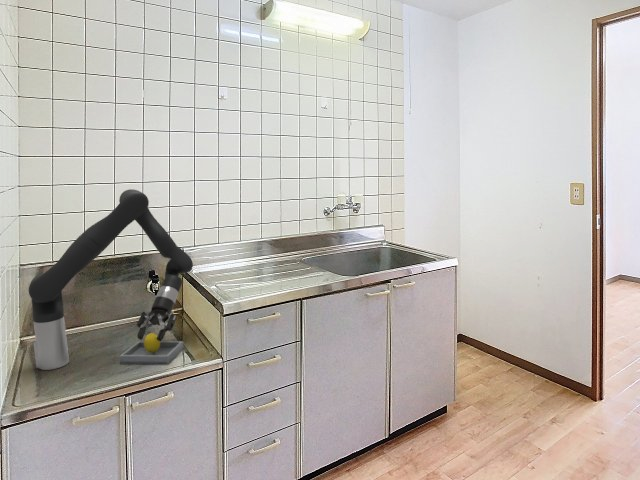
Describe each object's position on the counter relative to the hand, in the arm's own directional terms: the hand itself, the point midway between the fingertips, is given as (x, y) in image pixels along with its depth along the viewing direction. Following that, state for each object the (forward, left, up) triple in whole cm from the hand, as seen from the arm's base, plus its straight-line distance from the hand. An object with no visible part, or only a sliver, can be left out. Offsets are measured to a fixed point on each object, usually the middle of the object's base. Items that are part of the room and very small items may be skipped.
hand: (149, 339), depth 156 cm
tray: (0, +1, -7) cm, 7 cm away
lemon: (0, +2, -6) cm, 6 cm away
